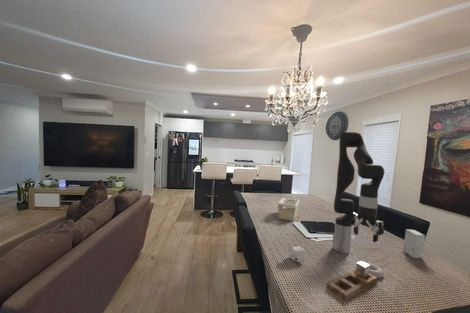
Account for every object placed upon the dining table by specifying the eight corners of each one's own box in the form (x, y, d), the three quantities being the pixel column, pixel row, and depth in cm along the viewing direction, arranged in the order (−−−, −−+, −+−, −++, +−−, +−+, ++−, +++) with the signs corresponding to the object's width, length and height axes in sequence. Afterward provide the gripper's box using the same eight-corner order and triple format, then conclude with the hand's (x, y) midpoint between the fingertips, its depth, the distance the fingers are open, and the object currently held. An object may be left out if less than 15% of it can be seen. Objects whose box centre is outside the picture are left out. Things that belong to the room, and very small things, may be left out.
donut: (356, 270, 111) (375, 281, 102) (356, 264, 111) (376, 274, 102) (368, 266, 115) (387, 276, 106) (368, 260, 115) (388, 270, 106)
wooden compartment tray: (326, 288, 95) (327, 282, 95) (358, 273, 108) (358, 267, 108) (345, 302, 87) (346, 294, 87) (376, 283, 100) (377, 276, 100)
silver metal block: (355, 278, 102) (356, 262, 102) (359, 276, 104) (361, 260, 104) (364, 283, 99) (365, 267, 98) (368, 281, 101) (369, 265, 100)
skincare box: (402, 251, 134) (404, 228, 133) (411, 251, 134) (413, 229, 133) (413, 258, 126) (415, 234, 125) (423, 258, 126) (425, 234, 125)
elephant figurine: (295, 267, 111) (296, 251, 111) (284, 255, 123) (285, 241, 122) (310, 265, 114) (311, 249, 113) (298, 253, 125) (299, 239, 125)
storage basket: (282, 211, 206) (283, 197, 205) (299, 214, 199) (299, 199, 198) (276, 218, 184) (277, 202, 184) (295, 222, 178) (296, 205, 177)
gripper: (348, 202, 103) (346, 233, 105) (380, 210, 91) (377, 246, 92) (357, 200, 107) (354, 230, 108) (388, 208, 95) (385, 242, 96)
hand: (365, 237), depth 100 cm, fingers open, 8 cm apart
